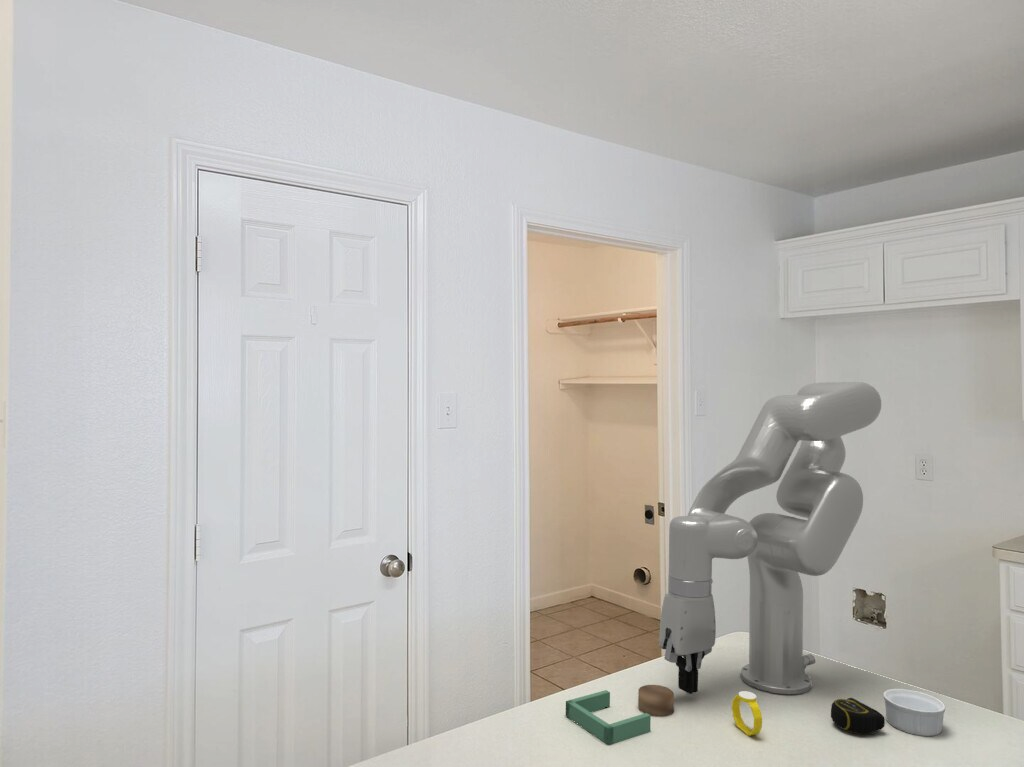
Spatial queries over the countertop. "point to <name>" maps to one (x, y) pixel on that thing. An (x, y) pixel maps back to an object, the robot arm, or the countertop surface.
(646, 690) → the puck
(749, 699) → the watch
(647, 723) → the green u-shaped frame
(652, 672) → the countertop surface
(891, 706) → the ramekin
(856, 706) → the tape measure
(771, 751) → the countertop surface
